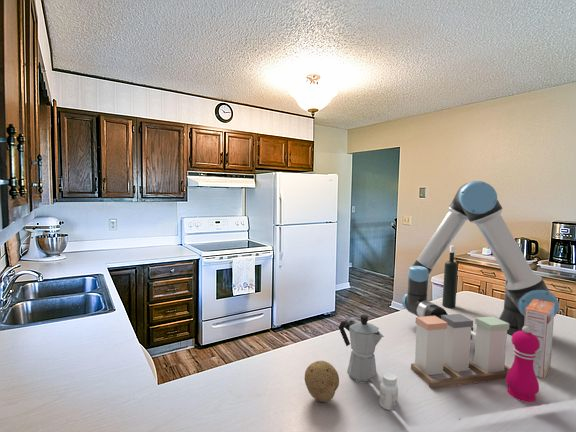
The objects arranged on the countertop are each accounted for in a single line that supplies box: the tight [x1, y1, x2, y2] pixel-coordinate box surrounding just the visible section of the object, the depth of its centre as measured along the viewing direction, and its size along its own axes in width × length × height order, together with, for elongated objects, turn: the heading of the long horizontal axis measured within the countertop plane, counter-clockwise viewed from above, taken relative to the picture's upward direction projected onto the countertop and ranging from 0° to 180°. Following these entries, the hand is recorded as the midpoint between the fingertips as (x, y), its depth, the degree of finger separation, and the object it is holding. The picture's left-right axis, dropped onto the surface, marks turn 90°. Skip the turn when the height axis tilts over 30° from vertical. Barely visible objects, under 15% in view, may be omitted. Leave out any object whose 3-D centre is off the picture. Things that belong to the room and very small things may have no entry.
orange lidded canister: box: [414, 316, 448, 376], centre depth 98 cm, size 6×7×16 cm
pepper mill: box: [505, 326, 540, 403], centre depth 87 cm, size 7×7×20 cm
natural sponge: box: [304, 360, 340, 403], centre depth 85 cm, size 9×9×10 cm
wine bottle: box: [441, 244, 459, 309], centre depth 159 cm, size 6×6×30 cm
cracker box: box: [524, 299, 555, 379], centre depth 102 cm, size 14×6×21 cm, turn 134°
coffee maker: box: [338, 314, 385, 383], centre depth 97 cm, size 15×9×18 cm, turn 47°
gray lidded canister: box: [441, 313, 474, 373], centre depth 100 cm, size 6×7×16 cm
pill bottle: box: [379, 372, 399, 411], centre depth 83 cm, size 4×4×8 cm
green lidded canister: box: [473, 316, 509, 373], centre depth 98 cm, size 6×7×16 cm
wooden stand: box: [410, 360, 511, 390], centre depth 98 cm, size 13×31×3 cm, turn 103°
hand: (482, 342), depth 101 cm, fingers closed
